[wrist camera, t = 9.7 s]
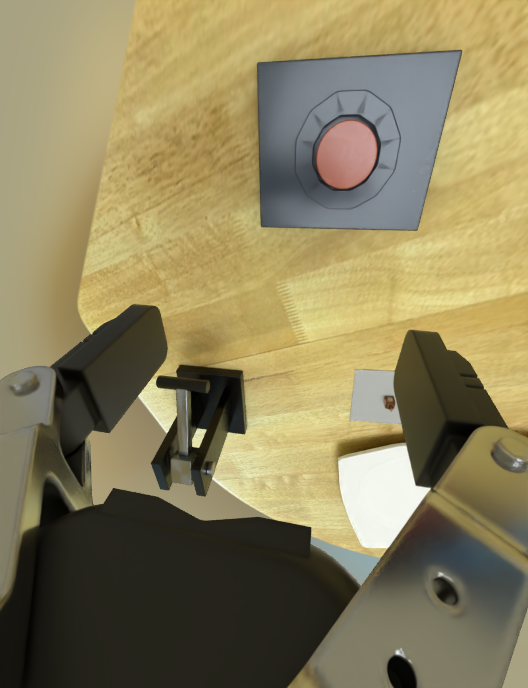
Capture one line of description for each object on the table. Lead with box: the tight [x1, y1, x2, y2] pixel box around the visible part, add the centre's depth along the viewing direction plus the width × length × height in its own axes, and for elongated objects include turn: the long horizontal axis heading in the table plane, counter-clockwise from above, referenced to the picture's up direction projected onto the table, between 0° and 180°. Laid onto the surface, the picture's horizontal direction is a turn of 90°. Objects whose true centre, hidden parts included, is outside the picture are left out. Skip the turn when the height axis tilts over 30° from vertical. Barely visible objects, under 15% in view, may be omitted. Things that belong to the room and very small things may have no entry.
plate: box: [338, 443, 431, 548], centre depth 41 cm, size 24×24×3 cm
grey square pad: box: [350, 369, 401, 424], centre depth 34 cm, size 8×8×2 cm
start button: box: [316, 120, 378, 189], centre depth 19 cm, size 4×4×2 cm
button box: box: [257, 50, 462, 231], centre depth 21 cm, size 12×10×4 cm
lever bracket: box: [151, 365, 247, 496], centre depth 35 cm, size 10×8×12 cm
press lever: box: [156, 376, 210, 485], centre depth 31 cm, size 11×5×2 cm, turn 1°
